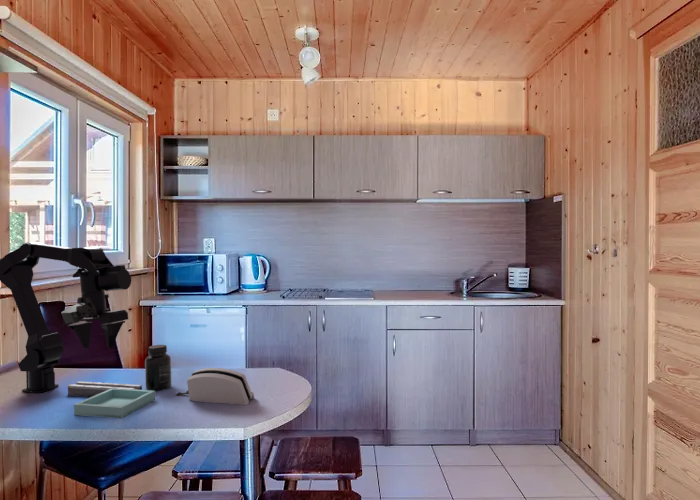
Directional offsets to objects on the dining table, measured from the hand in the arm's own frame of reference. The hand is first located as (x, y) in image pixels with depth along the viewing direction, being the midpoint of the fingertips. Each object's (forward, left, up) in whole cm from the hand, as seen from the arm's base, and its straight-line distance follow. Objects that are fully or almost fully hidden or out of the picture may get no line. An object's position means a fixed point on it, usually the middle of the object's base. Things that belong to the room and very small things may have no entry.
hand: (98, 348), depth 129 cm
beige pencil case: (+37, -1, -13) cm, 39 cm away
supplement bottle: (+14, +7, -13) cm, 20 cm away
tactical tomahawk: (+26, +12, -13) cm, 31 cm away
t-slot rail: (+3, -1, -12) cm, 13 cm away
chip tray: (+13, -9, -12) cm, 20 cm away
